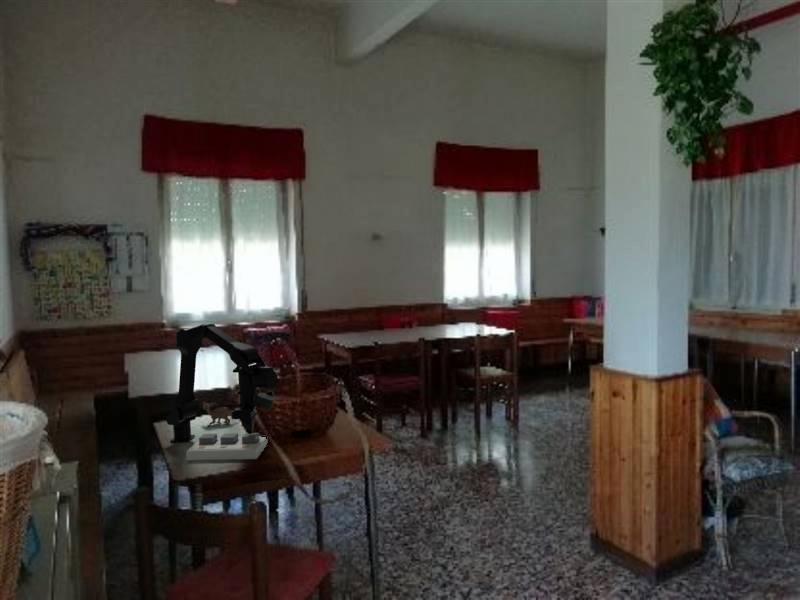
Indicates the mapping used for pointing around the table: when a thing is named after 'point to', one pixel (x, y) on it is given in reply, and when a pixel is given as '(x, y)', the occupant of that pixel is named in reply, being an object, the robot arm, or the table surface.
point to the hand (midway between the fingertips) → (250, 433)
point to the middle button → (229, 438)
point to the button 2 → (250, 438)
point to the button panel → (226, 450)
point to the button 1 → (208, 439)
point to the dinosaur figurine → (217, 412)
